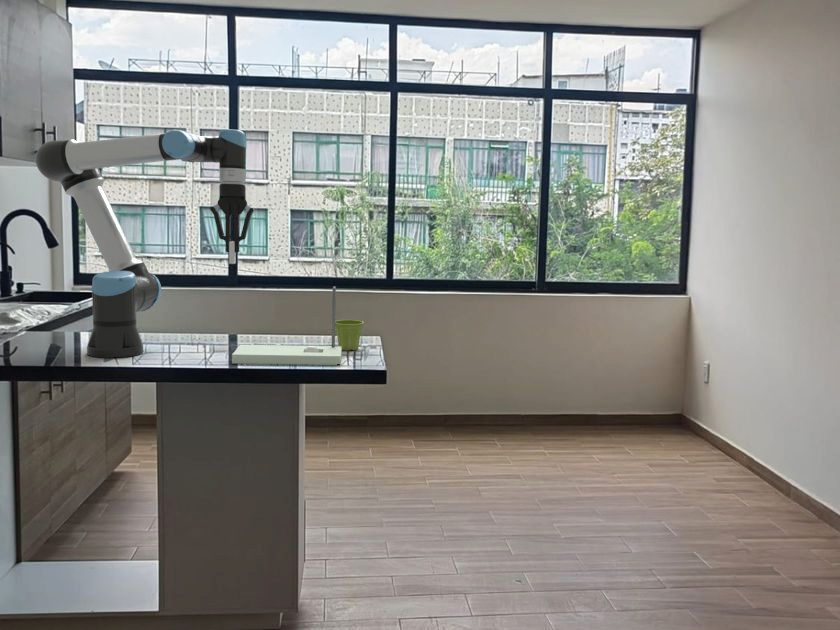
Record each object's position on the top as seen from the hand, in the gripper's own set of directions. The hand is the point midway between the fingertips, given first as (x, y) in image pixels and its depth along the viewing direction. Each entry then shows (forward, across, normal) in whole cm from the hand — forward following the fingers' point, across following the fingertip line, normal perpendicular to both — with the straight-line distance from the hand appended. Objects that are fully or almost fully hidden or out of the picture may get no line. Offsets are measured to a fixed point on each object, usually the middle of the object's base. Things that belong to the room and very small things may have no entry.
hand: (232, 263), depth 229 cm
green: (+26, +18, -10) cm, 34 cm away
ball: (+24, +24, -12) cm, 37 cm away
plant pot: (+27, +35, +6) cm, 44 cm away
